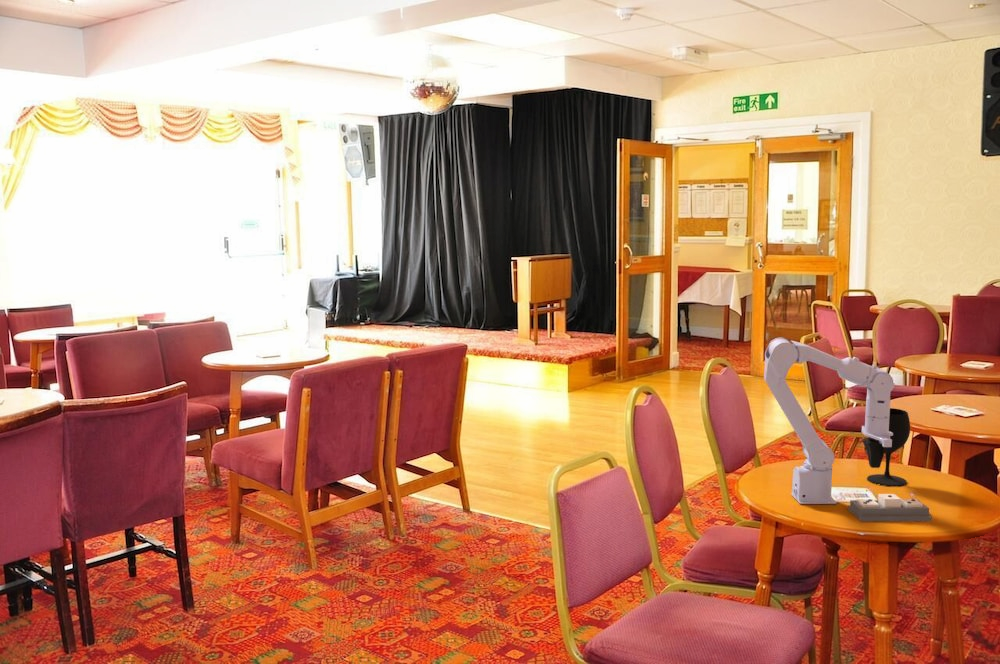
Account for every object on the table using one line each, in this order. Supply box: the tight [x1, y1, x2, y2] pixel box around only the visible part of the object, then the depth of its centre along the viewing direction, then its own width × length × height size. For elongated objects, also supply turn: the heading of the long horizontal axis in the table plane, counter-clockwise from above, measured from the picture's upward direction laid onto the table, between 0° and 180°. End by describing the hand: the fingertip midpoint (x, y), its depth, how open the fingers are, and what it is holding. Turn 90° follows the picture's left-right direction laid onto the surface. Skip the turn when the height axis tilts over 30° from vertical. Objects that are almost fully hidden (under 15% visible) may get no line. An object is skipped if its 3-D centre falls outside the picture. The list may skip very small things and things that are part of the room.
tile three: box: [856, 498, 879, 507], centre depth 224 cm, size 4×4×3 cm
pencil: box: [909, 492, 933, 520], centre depth 231 cm, size 1×1×19 cm
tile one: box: [877, 493, 902, 507], centre depth 224 cm, size 4×4×3 cm
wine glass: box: [866, 407, 911, 487], centre depth 251 cm, size 10×10×20 cm
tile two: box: [900, 498, 924, 507], centre depth 224 cm, size 4×4×3 cm
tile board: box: [847, 499, 933, 522], centre depth 225 cm, size 17×9×3 cm, turn 89°
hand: (874, 467), depth 233 cm, fingers closed
